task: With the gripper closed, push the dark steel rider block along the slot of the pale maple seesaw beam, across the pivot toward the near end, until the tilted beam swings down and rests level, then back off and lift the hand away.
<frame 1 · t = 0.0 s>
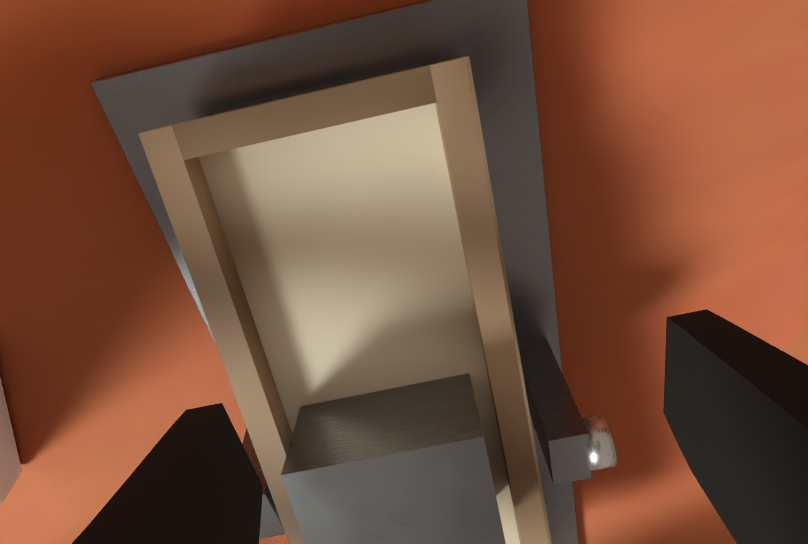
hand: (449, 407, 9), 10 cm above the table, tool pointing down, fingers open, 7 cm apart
beam stand: (403, 382, 22), on the table
steel rider: (400, 453, 17), point 5 cm above the table, tilted 11°, touching beam
beam: (410, 487, 18), point 5 cm above the table, hinge at 10.6°, touching steel rider
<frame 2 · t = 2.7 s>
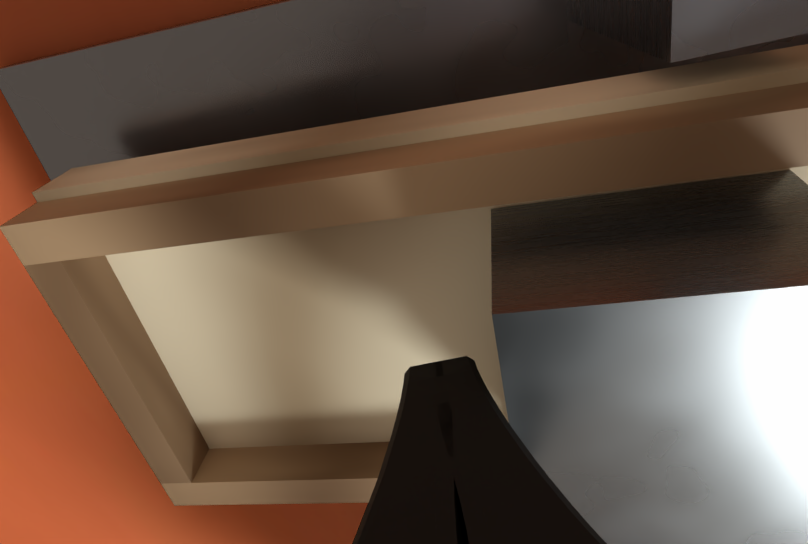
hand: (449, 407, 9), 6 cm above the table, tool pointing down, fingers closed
beam stand: (616, 195, 14), on the table
steel rider: (633, 316, 10), point 5 cm above the table, tilted 10°, touching beam, gripper
beam: (714, 305, 10), point 5 cm above the table, hinge at 10.6°, touching steel rider
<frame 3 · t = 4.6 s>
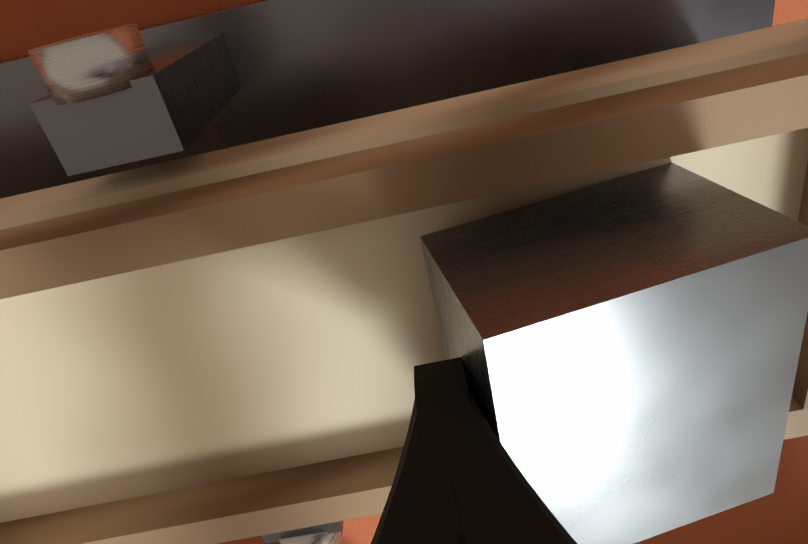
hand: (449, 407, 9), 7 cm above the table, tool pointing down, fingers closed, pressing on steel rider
beam stand: (265, 250, 16), on the table
steel rider: (558, 319, 11), point 5 cm above the table, tilted 11°, touching beam, gripper
beam: (223, 368, 12), point 5 cm above the table, hinge at -1.0°, touching steel rider
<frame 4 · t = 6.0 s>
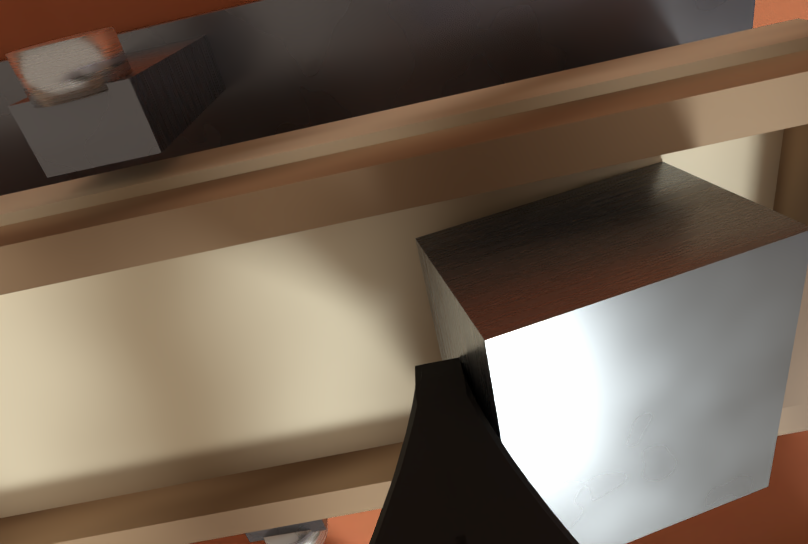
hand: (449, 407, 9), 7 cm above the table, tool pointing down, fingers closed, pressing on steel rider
beam stand: (252, 251, 16), on the table
steel rider: (553, 318, 11), point 5 cm above the table, tilted 13°, touching beam, gripper
beam: (205, 367, 12), point 5 cm above the table, hinge at -1.2°, touching steel rider
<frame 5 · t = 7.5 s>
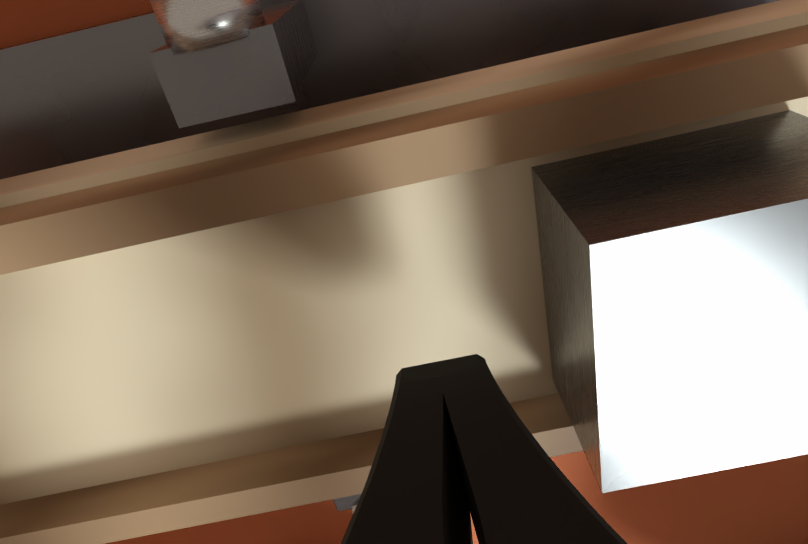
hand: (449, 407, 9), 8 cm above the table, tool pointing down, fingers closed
beam stand: (328, 222, 16), on the table
steel rider: (656, 261, 11), point 5 cm above the table, touching beam
beam: (313, 327, 12), point 5 cm above the table, hinge at -0.7°, touching steel rider
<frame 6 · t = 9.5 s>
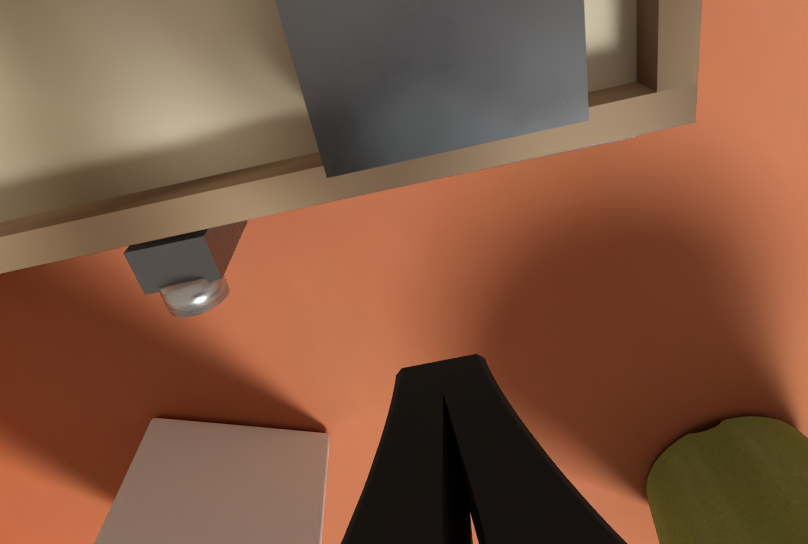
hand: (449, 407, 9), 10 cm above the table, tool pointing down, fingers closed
plant pot: (717, 467, 26), on the table
beam stand: (154, 21, 16), on the table
milk carton: (241, 476, 25), on the table
beam: (72, 53, 11), point 5 cm above the table, hinge at -0.7°, touching steel rider
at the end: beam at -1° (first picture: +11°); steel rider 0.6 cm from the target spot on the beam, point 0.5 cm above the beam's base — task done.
